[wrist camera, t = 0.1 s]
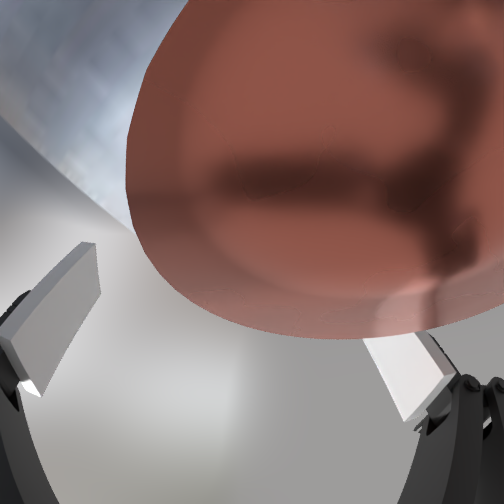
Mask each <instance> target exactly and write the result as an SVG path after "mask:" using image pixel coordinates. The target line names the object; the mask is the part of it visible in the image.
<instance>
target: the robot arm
mask: <svg viewBox="0 0 504 504" xmlns="http://www.w3.org/2000/svg"><path fill="white" fill-rule="evenodd" d="M100 294H101V291H100V284H99V276H98V267H97V257H96V246H95V243H87V242H81V243H80V244H79V245H78V246H77V247H75V248H74V249H73V250H72V251H71V252H70V253H69V254H68V255H67V256H66V257H65V258H64V259H63V260H61V261H60V262H59V263H58V264H57V265H56V266H55V267H54V268H53V269H52V270H51V271H50V272H49V273H48V274H47V275H46V276H45V277H44V278H43V279H42V280H41V281H40V282H39V283H38V284H37V285H36V286H35V287H34V289H33V290H32V291H31V290H28V291H27V292H25V293H23V294H22V295H20V296H19V297H18V298H17V299H16V300H15V301H14V302H13V303H12V306H10V307H9V308H8V309H7V312H4V314H3V315H2V316H1V317H0V504H59V502H58V500H57V498H56V497H55V494H54V492H53V490H52V489H51V486H50V484H49V482H48V480H47V477H46V475H45V473H44V470H43V468H42V465H41V463H40V460H39V458H38V455H37V452H36V450H35V447H34V444H33V441H32V438H31V435H30V431H29V428H28V425H27V421H26V418H25V413H24V410H23V406H22V401H21V396H20V393H19V390H18V388H17V384H18V383H19V381H21V383H22V384H23V386H24V388H25V389H26V390H27V391H29V392H31V393H33V394H35V395H37V396H39V397H42V396H43V394H44V392H45V390H46V388H47V386H48V384H49V382H50V380H51V378H52V376H53V374H54V372H55V370H56V368H57V366H58V364H59V363H60V361H61V359H62V357H63V355H64V353H65V352H66V350H67V348H68V346H69V345H70V343H71V341H72V340H73V338H74V336H75V334H76V333H77V331H78V329H79V328H80V326H81V325H82V323H83V321H84V319H85V318H86V316H87V315H88V313H89V312H90V310H91V308H92V307H93V305H94V304H95V302H96V301H97V299H98V298H99V296H100ZM363 341H364V343H365V345H366V347H367V348H368V350H369V352H370V354H371V356H372V358H373V360H374V362H375V364H376V366H377V368H378V370H379V372H380V373H381V376H382V377H383V379H384V382H385V383H386V386H387V388H388V390H389V392H390V394H391V396H392V398H393V400H394V402H395V404H396V406H397V408H398V410H399V413H400V415H401V417H402V419H403V421H404V422H406V421H409V420H413V419H416V418H418V417H419V416H420V415H421V414H422V413H423V411H425V409H426V410H427V412H428V415H427V416H426V417H425V418H424V419H423V420H422V421H421V422H420V423H419V424H418V425H417V426H416V427H415V429H414V431H416V430H417V429H418V428H420V427H421V426H422V429H421V430H420V431H419V433H421V434H420V438H419V442H418V446H417V449H416V453H415V456H414V460H413V463H412V466H411V469H410V472H409V475H408V478H407V480H406V483H405V486H404V489H403V491H402V494H401V496H400V499H399V501H398V503H397V504H504V380H503V379H502V378H499V377H494V378H492V380H491V381H490V382H489V383H488V384H487V385H480V383H479V381H478V380H476V379H475V378H474V377H473V376H471V375H468V374H464V375H462V376H461V374H460V373H459V372H458V370H457V369H456V367H455V366H454V364H453V363H452V362H451V360H450V359H449V357H448V356H447V355H446V354H444V351H443V349H442V348H441V347H440V345H439V344H438V343H437V341H436V340H435V339H434V337H432V336H431V335H430V334H429V333H428V332H427V331H426V330H423V331H418V332H413V333H408V334H401V335H395V336H387V337H378V338H365V339H363ZM490 416H491V420H492V422H491V423H490V424H489V425H488V426H486V427H485V428H484V429H483V423H484V422H485V421H486V420H487V419H488V418H489V417H490Z"/></svg>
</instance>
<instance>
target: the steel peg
mask: <svg viewBox="0 0 504 504" xmlns="http://www.w3.org/2000/svg"><path fill="white" fill-rule="evenodd" d="M126 194H127V199H128V205H129V210H130V214H131V219H132V224H133V227H134V229H135V232H136V234H137V236H138V239H139V241H140V243H141V245H142V247H143V250H144V252H145V254H146V255H147V257H148V258H149V259H150V261H151V262H152V264H153V265H154V266H155V268H156V269H157V271H158V272H159V273H160V275H161V276H162V277H163V278H164V279H165V280H166V281H167V282H168V283H169V284H170V285H171V286H172V287H173V288H174V289H175V290H177V291H178V292H179V293H181V294H182V295H183V296H185V297H186V298H187V299H189V300H190V301H191V302H193V303H195V304H197V305H198V306H200V307H202V308H203V309H205V310H207V311H209V312H210V313H213V314H215V315H217V316H219V317H222V318H224V319H226V320H229V321H231V322H234V323H237V324H240V325H243V326H246V327H250V328H253V329H257V330H261V331H265V332H270V333H275V334H281V335H287V336H294V337H303V338H315V339H365V338H378V337H387V336H395V335H401V334H408V333H413V332H418V331H423V330H428V329H432V328H436V327H440V326H444V325H447V324H450V323H454V322H457V321H460V320H464V319H466V318H469V317H472V316H475V315H478V314H480V313H483V312H485V311H488V310H490V309H492V308H495V307H497V306H499V305H501V304H503V303H504V0H189V1H188V2H187V4H186V5H185V7H184V8H183V10H182V11H181V12H180V14H179V15H178V17H177V18H176V20H175V22H174V23H173V25H172V26H171V28H170V29H169V31H168V33H167V34H166V36H165V38H164V39H163V41H162V43H161V44H160V46H159V48H158V50H157V51H156V53H155V55H154V57H153V59H152V60H151V62H150V64H149V66H148V68H147V70H146V73H145V76H144V79H143V82H142V85H141V88H140V92H139V95H138V98H137V102H136V105H135V109H134V113H133V116H132V120H131V124H130V128H129V132H128V136H127V149H126Z"/></svg>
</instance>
